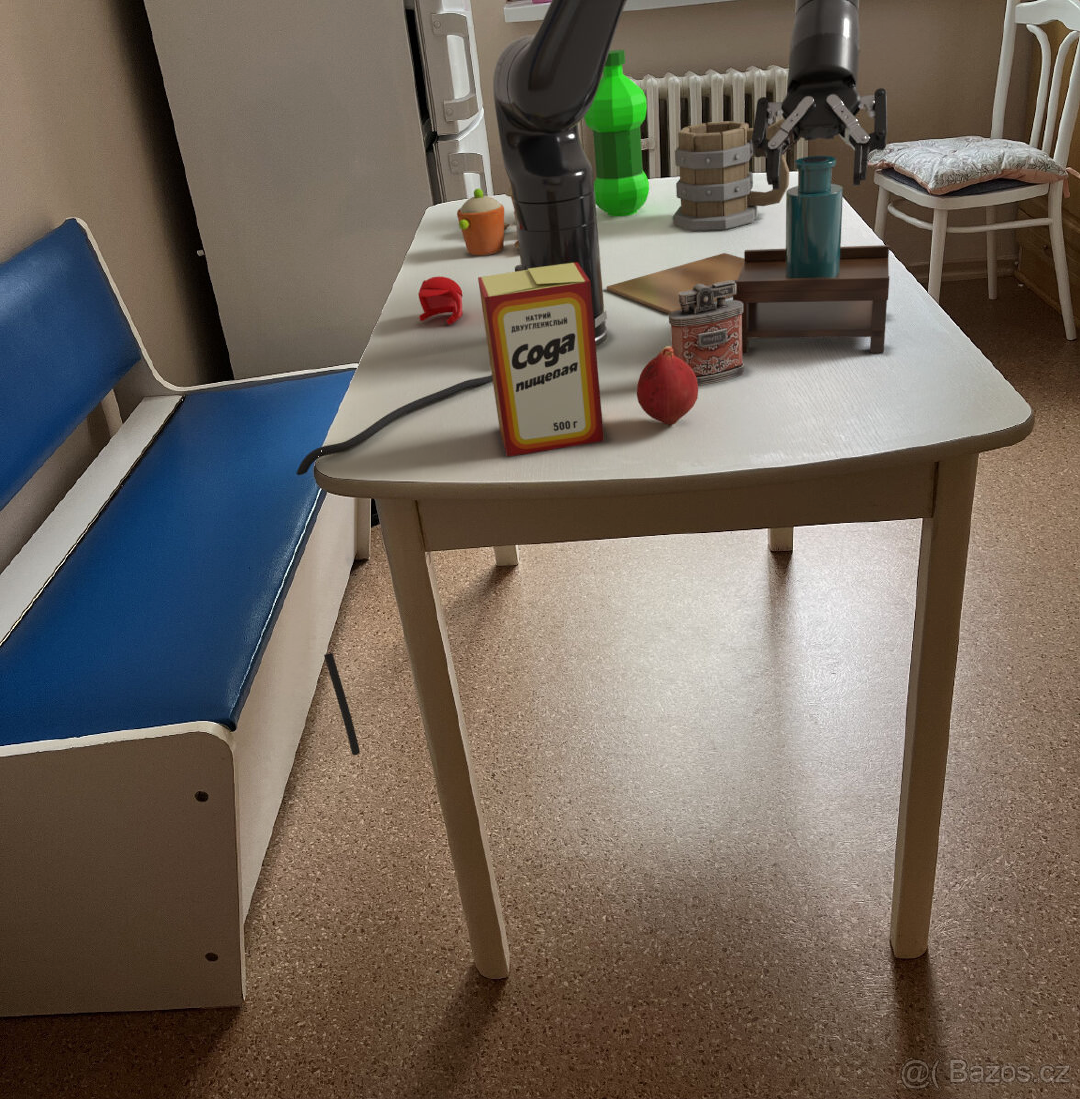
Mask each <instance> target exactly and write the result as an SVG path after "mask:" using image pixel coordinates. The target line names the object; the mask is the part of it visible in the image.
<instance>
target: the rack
mask: <svg viewBox="0 0 1080 1099" xmlns="http://www.w3.org/2000/svg"><path fill="white" fill-rule="evenodd" d="M889 255H890V245H889V244H884V245H883V244H881V245H880V244H879V245H854V246H852V245H851V246H841V251H840V273H839V275H838V276H836V277H826V278H787V277H786V275H785V266H786V248H769V249H768V248H765V249H764V248H761V249H744V252H743V258H744V261H745V262H744V265H743V267H742V270H741V273H740V275H739V278H738V280H733V281H734V283H736V294H734V295H733V296H732V300H737V301H741V302H743V312H742V354H748V352H749V349H750V347H749V344H750V343H749V339H784V338H785V339H786V338H787V339H789V338H791V339H792V338H793V339H794V338H796V339H797V338H798V339H799V338H800V339H801V338H805V339H806V338H870V344H869V353H870V354H873V353H874V354H883V353H885V340H886V338H885V337H886V324H887V322H886V321H887V308H888V307H887V306H888V300H889V292H890V274H889V273H890V270H889V269H890V268H889V267H890V266H889V263H890V262H889V260H890V258H889V257H890V256H889Z"/></svg>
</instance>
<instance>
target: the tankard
mask: <svg viewBox="0 0 1080 1099" xmlns="http://www.w3.org/2000/svg"><path fill="white" fill-rule="evenodd" d="M784 121H785V119H784V118H783V117H782V118H781V119H780V120H778V121H776V122H773V123H772V124H771V125H768V130H767V137H766V140H771V139H772V138H773V137H774V135H775V134H776V133H777V132H778V131H779V129H780V127H781V125H782V123H783V122H784ZM749 126H750V125H749V123H747V122H741V121H736V120H735V121H733V120H731V121H730V120H727V121H711V122H703V123H697V124H692V125H689V126H684V127H683V128H682V129H681V130H680V131H679V132H678V134H677V139H678V146H677V148H676V149H675V150H674V159H675V160H674V162H675V166H676V167H679V179H678V181H677V182H676V183H675V184H676V185H675V187H676V188H675V190H676V192H675V193H676V198H677V199H679V200H680V206H679V207H678V208H677V210H676V211H675V213H674V214H673V215H672V225H673V226H675V227H678V228H682V229H684V230H688V231H691V232H707V231H710V232H711V231H727V230H730V229H734V228H738V227H743V226H747V225H750V224H752V223H754V221H755V219H756V217H757V215H758V207H766V206H767V207H768V206H771V205H776V204H780V203H781V201H782V199H783V197H784V195H785V194H786V192H787V190H788V189H789V185H790V168H789V166H788V164H787V160H786V158H785V155H784V154H783V155H782V157H781V174H780V188H779V189H778V190H773V188H772V189H771V190H767V191H756V190H752V189H753V187H754V173H753V172H752V171H750V160H751V158H752V156H754V154H753V147H752V135H753V128H754V127H749Z"/></svg>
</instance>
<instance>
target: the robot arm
mask: <svg viewBox="0 0 1080 1099" xmlns="http://www.w3.org/2000/svg"><path fill="white" fill-rule="evenodd" d="M627 1H628V0H551V1H550V3H549V6H548V7H547V10H546V12H545V14H544V17H543V18H542V21H541V23H540V25H539V27H538V29H537V30H536V33H535V34H527V35H523V36H520V37H518V38H517V39H513V41H511V42H510V43H509V44H507V45H506V47H505V48H504V49H503V50H502V51H501V53H500V55H499V56H498V59H497V61H496V63H495V66H494V71H493V77H492V79H493V80H492V81H493V82H492V87H493V88H492V89H493V91H492V92H493V102H494V109H495V117H496V123H497V130H498V131H497V132H498V136H499V144H500V148H501V155H502V157H501V158H502V161H503V166H504V169H505V172H506V174H507V177H508V180H509V183H510V187H511V188H512V195H513V202H514V206H513V210H514V211H515V214H514V218H515V227H516V236H517V241H518V244H519V249H518V251H519V259H520V263H519V264H517V265H515V266H514V272H517V271H523V270H528V269H529V268H537V267H545V266H552V265H560V264H568V263H576V262H578V264H579V265H580V267H581V268H582V270H583V271H584V273H585V274H586V276H587V277H588V279H589V280H590V284H591V296H592V307H593V319H594V330H595V342H596V347H597V346H599V345H601V344H602V343H604V342H605V341H606V340H607V338H608V330H607V326H606V320H607V319H608V316H607V310H605V302H604V291H603V290H604V289H603V278H602V277H603V276H602V266H601V264H602V263H601V253H600V252H601V251H600V241H599V239H600V238H599V227H598V217H597V216H598V215H597V205H596V201H595V190H594V182H595V179H594V169H593V166H592V164H591V162H590V160H589V157H587V155H586V153H585V150H584V147H583V144H582V140H581V137H580V132H579V124H580V122H581V121H582V120H584V119H585V118H584V116H585V115H586V113H587V112H588V110H589V109H590V107H591V105H592V102H593V100H594V98H595V95H596V92H597V89H598V86H599V83H600V80H601V78H602V77H603V70H604V67H605V63H606V60H607V57H608V54H609V51H611V47H612V44H613V41H614V39H615V35H616V31H617V29H618V26H619V22H620V19H621V17H622V14H623V11H624V8H625V6H626V4H627ZM859 9H860V0H795V6H794V17H793V18H794V21H793V26H792V30H791V36H790V44H789V58H788V71H787V72H788V73H787V89H786V95H785V97H784V99H783V100H782V101H776V102H774V101H771V102H769V99H768V98H767V97H765V96H761V97H759V98H758V99H757V102H756V109H755V116H754V121H753V122H754V123H753V127H752V128H753V135H752V147H753V156H754V157H755V158H762V157H763V158H766V171H765V172H766V173H765V177H766V182H767V184H768V186H772V189H773V190H778V189H779V188H780V174H781V157H782V155H784V154H786V152H787V151H788V150H792V148H793V147H794V146H796V144H797V143H798V142H799V140H800V139H804V141H814V140H817V139H823V140H834V139H835V137H836V136H838V137H840V139H841V140H842V141H843V142H844V143H845V145H846V146H849V147H851V148H852V150H853V151H854V157H853V158H854V159H853V160H854V161H853V164H854V165H853V180H852V183H853V184H852V186H853V187H859V186H861V181H865V180H866V179H867V177H868V164H869V155H870V154H871V152H873V151H875V150H876V151H883V150H885V149H886V147H887V137H888V107H887V106H888V105H887V104H888V102H887V99H888V98H887V90H886V89H885V88H881V87H880V88H877V89H875V91H874V94H867V95H860V93H859V92H858V76H859V75H858V74H859V60H860V57H859V56H860V53H861V46H860V41H861V40H860V39H861V38H860V37H861V31H860V21H859V14H860V13H859V11H860V10H859ZM860 110H865V112H866V115H867V116H868V117H870V118H871V119H873V127H874V128H873V130H874V131H873V132H870V133H868V132H867V131H866V130H865V129H864V128H863V127H862V126H861V124H860V123H859V120H858V119H857V117H856V116H857V115H858V114H859V112H860ZM780 115H781V116H782V119H783V118H784V119H785V121H784V122H783V123H782V125H781V127H780V129H779V131H778V132H777V133H776V134H775V135H774V137H773V138H772V139H771V140H767V139H766V137H767V130H768V126H770V125H772V124H774V123H775V121H776V118H777V117H778V116H780ZM514 211H513V212H514ZM489 383H493V379H492V374H490V375H486V376H482V377H476V378H471V379H468V380H464V381H462V382H458V383H456V384H454V385H451V386H449V387H446V388H444V389H441V390H439V391H436V392H433V393H431V394H428V395H425V396H423V397H421V398H418V399H416V400H414V401H411V402H409V403H407V404H405V405H402V406H401V407H398V408H396V409H395V410H392V411H391V412H389V413H387V414H386V415H384V416H383V417H381V418H380V419H378V420H377V421H376V422H374V423H372V425H370V426H369V427H367V428H366V429H364V430H363V431H361V432H359V433H358V434H356V435H355V436H353V437H351V438H349V439H347V440H345V441H342V442H338V443H333V444H328V445H323V446H320V447H317V448H315V449H313V450H312V451H310V452H309V453H308V454H307V455H306V456H305V457H304V458H303V459H302V461H301V462H300V464H299V466H298V468H297V470H296V475H297V476H301V475H304V474H306V473H308V471H309V469H310V468H311V466H312V465H313V463H315V461H317V460H319V459H321V458H323V457H326V456H330V455H335V454H340V453H343V452H346V451H350V450H351V449H353V448H355V447H357V446H359V445H360V444H363V443H364V442H366V441H367V440H369V439H370V438H372V437H373V436H374V435H376V434H377V433H379V431H381V430H382V429H383V428H385V427H387V426H389V425H390V424H391V423H393V422H394V421H396V420H398V419H400V418H401V417H404V416H406V415H408V414H410V413H412V412H414V411H416V410H419V409H421V408H423V407H426V406H429V405H431V404H433V403H435V402H439V401H442V400H444V399H447V398H449V397H452V396H454V395H456V394H460V393H461V392H463V391H467V390H469V389H473V388H478V387H481V386H484V385H487V384H489ZM321 450H322V452H321ZM318 456H319V457H318ZM323 657H324V660H325V664H326V667H327V670H328V673H329V677H330V680H331V684H332V686H333V689H334V694H335V697H336V699H337V700H336V701H337V703H338V706H339V709H340V710H339V711H340V713H341V716H342V720H343V723H344V727H345V731H346V735H347V740H348V743H349V748H350V751H351V754H352V756H358V755H359V754H361V751H360V750H361V749H360V746H359V742H358V737H357V734H356V730H355V725H354V722H353V718H352V714H351V711H350V707H349V704H348V700H347V696H346V694H345V690H344V687H343V683H342V680H341V676H340V674H339V670H338V667H337V663H336V661H335V656H334V653H333V652H329V653H325V654H324V655H323Z"/></svg>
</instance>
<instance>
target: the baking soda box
mask: <svg viewBox="0 0 1080 1099" xmlns="http://www.w3.org/2000/svg"><path fill="white" fill-rule="evenodd" d="M477 281H478V287H479V288H478V289H479V295H480V302H481V308H482V316H483V323H484V329H485V336H486V344H487V350H488V351H487V352H488V356H489V357H488V358H489V365H490V371H491V375H492V379H493V381H492V385H493V392H494V399H495V407H496V413H497V420H498V428H499V432H500V436H501V439H502V444H503V447H504V450H505V454H506V458H507V457H508V458H509V457H513V456H514V457H515V456H520V455H526V454H527V455H528V454H532V453H533V454H534V453H538V452H545V451H551V450H558V449H562V448H569V447H575V446H581V445H588V444H592V443H593V444H594V443H598V442H600V443H601V442H605V437H604V436H605V435H604V434H605V433H604V424H603V414H602V400H601V390H600V389H601V388H600V378H599V367H598V366H599V365H598V354H597V346H596V342H595V330H594V319H593V307H592V296H591V284H590V280H589V279H588V277H587V276H586V274H585V273H584V271H583V270H582V268H581V267H580V265H579V264H578V262H576V263H568V264H560V265H552V266H545V267H537V268H529V269H528V270H523V271H517V272H515V271H510V272H505V273H497V274H491V275H490V274H489V275H485V276H479V277H477Z"/></svg>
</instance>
